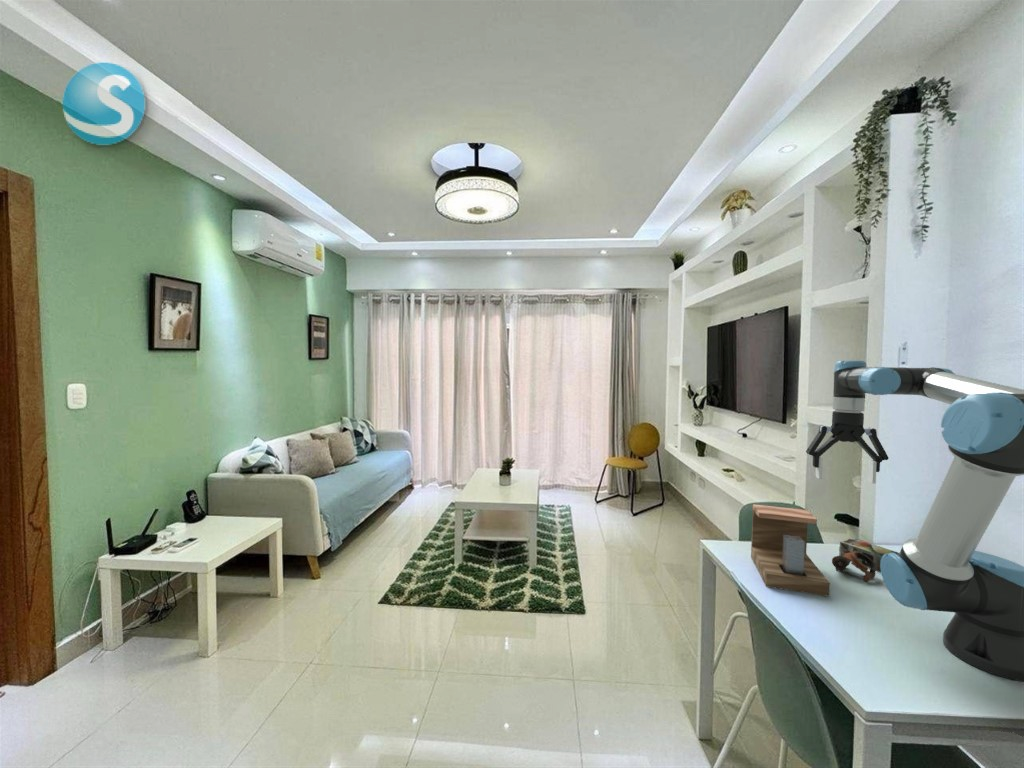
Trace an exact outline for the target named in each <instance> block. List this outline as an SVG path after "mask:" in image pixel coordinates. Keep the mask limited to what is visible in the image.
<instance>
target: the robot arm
mask: <svg viewBox="0 0 1024 768" xmlns="http://www.w3.org/2000/svg"><path fill="white" fill-rule="evenodd" d="M866 394H868V395H874V396H887V395H906V396H907V395H908V396H912V395H913V396H922V397H925V398H929V399H931V400H935V401H938V402H941V403H945V404H948V405H949V406H948V407H947V408H946V409H945V412H944V413H943V415H942V417H941V418H942V419H941V422H940V427H941V428H942V429H943V430H942V431H941V435H942V438H943V440H944V442H946V444H947V445H948V446H947V449H948V451H949V452H950V454H951V455H952V456H953V457H954V458H953V460H952V462H951V463H950V466H949V467H948V470H947V471H946V474H945V476H944V479H943V481H942V483H941V485H940V488H939V489H938V492H936V496H935V497H934V500H933V502H932V504H931V506H930V508H929V511H928V513H927V515H926V517H925V519H924V520H923V524H922V526H921V528H920V529H919V532H918V533H917V534H918V535H917V537H916V538H909V539H908V540H906V541H905V542H904V543H903V545H902V547H901V549H900V550H899V552H898V554H896V553H887V554H884V555H883V556H882V558H881V563H880V568H881V572H880V573H881V578H882V579H883V583H884V585H885V587H886V589H887V590H888V592H889V594H890V595H891V597H893V599H894V600H895V601H897V602H898V604H900V605H902V606H904V607H906V608H912V609H917V610H921V611H934V612H948V613H954V615H953V617H952V618H951V619H950V621H949V623H948V624H947V627H946V628H945V629H944V631H943V635H942V643H943V645H944V647H945V648H946V650H948V651H949V652H950V653H951V654H952V655H954V656H955V657H957V658H959V659H960V660H962V661H963V662H965V663H967V664H969V665H971V666H973V667H974V668H975V667H976V668H978V669H980V670H982V671H984V672H987V673H990V674H992V675H996V676H998V677H1002V678H1006V679H1009V680H1013V681H1019V682H1024V565H1021V564H1018V563H1016V562H1015V561H1012V560H1009V559H1006V558H1003V557H1000V556H997V555H994V554H990V553H987V552H983V551H978V550H976V549H977V547H978V545H979V544H980V542H981V540H982V538H983V536H984V535H985V533H986V530H987V529H988V527H989V525H990V523H992V522H991V521H992V520H993V518H994V516H995V515H996V513H997V510H998V509H999V507H1000V506H1001V505H1002V504H1001V503H1002V502H1003V501H1004V499H1005V496H1006V495H1007V493H1008V491H1009V489H1010V488H1011V485H1012V484H1013V482H1014V480H1015V478H1016V477H1020V476H1024V389H1022V388H1017V387H1013V386H1009V385H1004V384H1000V383H996V382H992V381H988V380H987V381H986V380H982V379H978V378H973V377H969V376H963V375H961V374H960V375H959V374H956V373H954V372H953V370H952V369H949V368H944V367H943V368H941V367H934V366H933V367H893V366H892V367H885V366H873V367H872V366H870V367H869V366H868V367H867V362H866V361H865V360H838V361H836V362H835V364H834V371H833V396H832V399H833V400H832V409H833V410H834V411H832V413H831V414H832V416H831V426H826V425H823V424H821V425H819V428H818V432H817V434H816V435H815V436H814V438H813V439H812V441H811V443H810V444H809V445H808V447H807V449H806V450H805V453H806V454H807V455H810V456H812V466H813V468H815V478H817V479H818V480H822V479H823V462H824V461H823V460H824V458H823V457H821V456H822V455H824V453H826V452H827V451H828V450H829V449H830V448H831V447H832V446H834V445H835V444H836V443H838V442H843V443H844V442H849V443H857V444H858V445H859V446H860V447H861V448H862V449H863V451H864V452H865V453H866V454H867V455H868V456H869V457H870V458H871V459H869V460H868V474H867V482H869V483H871V484H876V481H877V480H876V479H877V478H876V477H877V473H879V472H880V471H881V470H880V469H881V463H882V462H883V461H888V460H889V455H888V454H887V451H886V450H885V449H884V447H883V444H882V443H881V441H880V439H879V438H878V434H877V433H878V432H877V429H875V428H874V427H868V428H864V424H865V423H864V421H865V420H864V419H865V413H863V412H864V411H865V405H866V404H865V399H866ZM829 432H831V433H832V435H830V436H829V437H828V439H827V440H826V441H825V442H823V444H821V443H822V441H823V439H824V438H825V437H826V435H827V434H828V433H829ZM864 434H865V435H867V436H868V438H869V440H870V443H871V445H872V446H873V448H874V450H875V451H876V452H877V453H876V452H875V451H874V450H873V449H872V448H871V447H870V446H869V444H868V443H867V442H866V441H865V440H864V438H863V437H862V436H863V435H864ZM819 445H820V446H819Z"/></svg>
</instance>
